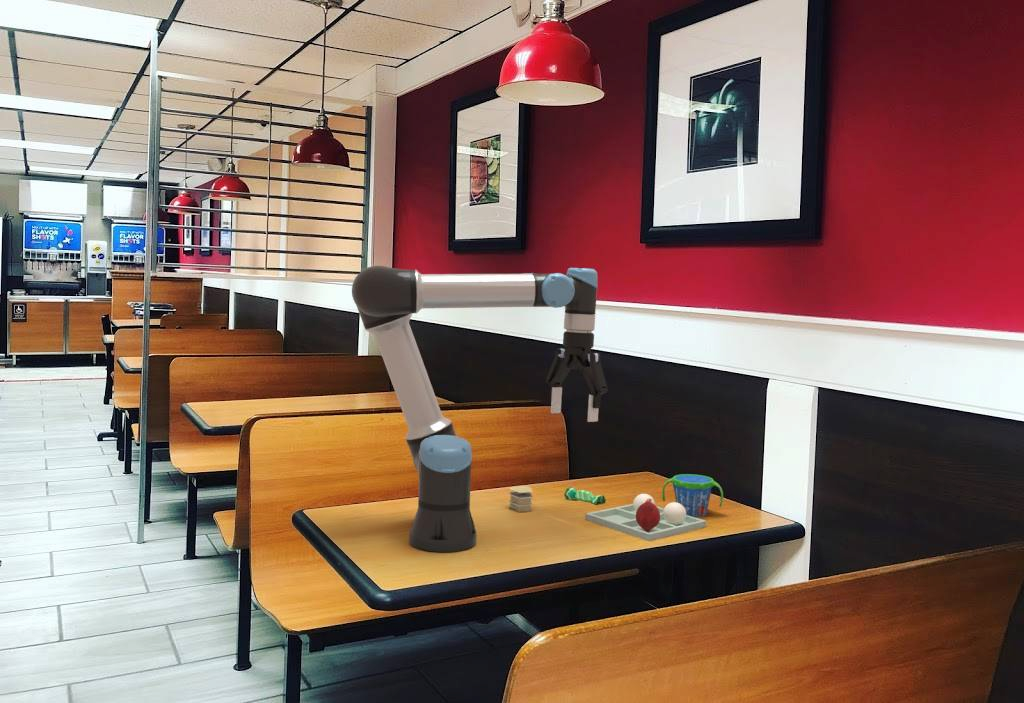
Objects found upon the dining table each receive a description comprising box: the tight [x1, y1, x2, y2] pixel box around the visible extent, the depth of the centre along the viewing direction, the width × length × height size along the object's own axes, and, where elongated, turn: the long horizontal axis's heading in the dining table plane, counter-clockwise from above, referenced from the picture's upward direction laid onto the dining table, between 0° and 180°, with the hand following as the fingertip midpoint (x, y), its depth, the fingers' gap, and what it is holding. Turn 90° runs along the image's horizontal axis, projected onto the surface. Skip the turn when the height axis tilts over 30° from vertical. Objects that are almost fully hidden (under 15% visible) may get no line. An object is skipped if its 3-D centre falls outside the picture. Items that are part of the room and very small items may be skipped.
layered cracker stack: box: [508, 485, 534, 513], centre depth 221 cm, size 10×9×6 cm
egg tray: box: [584, 503, 707, 542], centre depth 208 cm, size 21×21×2 cm
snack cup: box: [661, 473, 724, 518], centre depth 219 cm, size 16×10×10 cm
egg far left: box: [632, 493, 656, 512], centre depth 215 cm, size 6×6×6 cm
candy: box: [563, 486, 607, 505], centre depth 229 cm, size 12×3×4 cm
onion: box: [636, 498, 660, 531], centre depth 201 cm, size 6×6×8 cm
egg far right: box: [663, 501, 686, 525], centre depth 207 cm, size 6×6×6 cm
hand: (573, 417), depth 207 cm, fingers open, 13 cm apart
